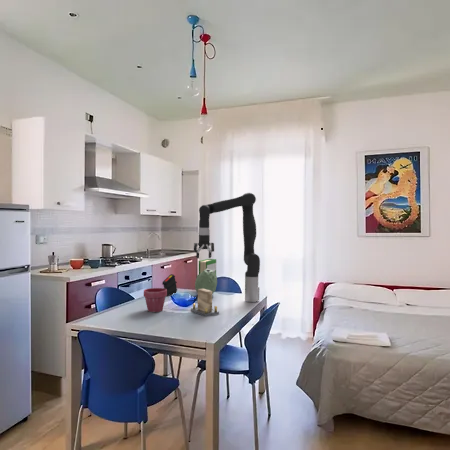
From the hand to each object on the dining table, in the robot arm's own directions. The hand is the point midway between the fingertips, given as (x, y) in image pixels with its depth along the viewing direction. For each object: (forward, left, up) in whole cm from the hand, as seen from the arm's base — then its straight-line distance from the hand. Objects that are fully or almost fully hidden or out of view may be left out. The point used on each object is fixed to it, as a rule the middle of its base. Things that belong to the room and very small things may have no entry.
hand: (203, 258), depth 247 cm
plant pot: (+36, +9, -30) cm, 48 cm away
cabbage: (-9, -17, -30) cm, 36 cm away
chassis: (+10, +26, -30) cm, 41 cm away
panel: (+10, +26, -29) cm, 40 cm away
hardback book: (-20, -40, -30) cm, 54 cm away
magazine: (+14, -32, -30) cm, 46 cm away
